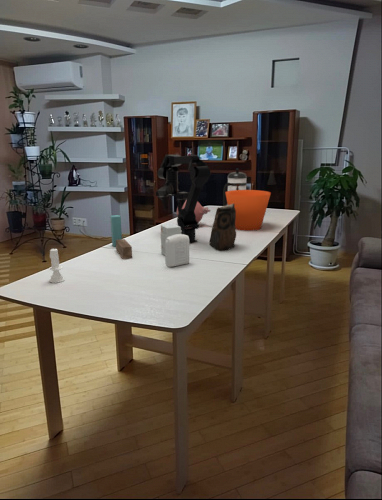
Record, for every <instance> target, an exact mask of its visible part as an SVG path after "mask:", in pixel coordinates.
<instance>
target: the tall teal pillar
mask: <svg viewBox="0 0 382 500" xmlns="http://www.w3.org/2000/svg"><path fill="white" fill-rule="evenodd" d="M109 219H110V230H111V231H110V232H111V244H112V247H115V248H116V240H120V239H123V237H122V235H123V234H122V233H123V232H122V217H121V215H120V214H118V215H117V214H116V215H110V218H109Z"/></svg>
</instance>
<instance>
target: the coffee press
mask: <svg viewBox="0 0 382 500" xmlns="http://www.w3.org/2000/svg"><path fill="white" fill-rule="evenodd" d="M226 177H227V183H225V185H224V187H223V188H222V189H223V190H222V205H223V206H226V205H228V203H227V198H226V193H225V192H227V191H232V190H247V184H248V183H247V178H248V176H247V174H246V173H245V172H242V171H241V172H240V169H239V168H236V169H235V171H234V172H230V173H228V174H227V176H226Z"/></svg>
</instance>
